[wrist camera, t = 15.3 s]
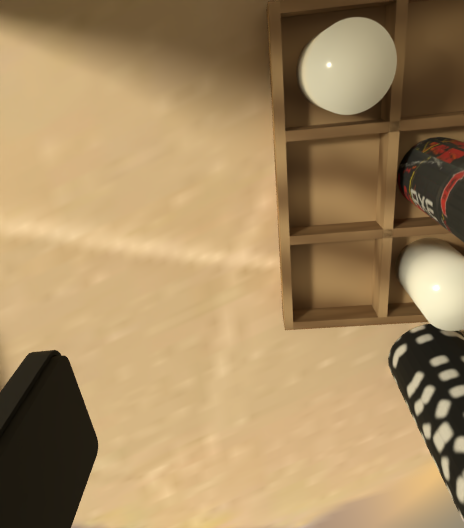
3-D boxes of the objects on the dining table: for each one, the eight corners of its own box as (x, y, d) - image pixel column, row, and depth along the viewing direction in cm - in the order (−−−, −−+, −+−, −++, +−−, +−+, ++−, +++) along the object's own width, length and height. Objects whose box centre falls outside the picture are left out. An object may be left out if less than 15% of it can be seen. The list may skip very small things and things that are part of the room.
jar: (396, 239, 38) (426, 271, 32) (459, 234, 38) (502, 266, 31) (392, 292, 40) (419, 333, 34) (451, 289, 40) (490, 329, 33)
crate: (266, 8, 31) (268, 1, 29) (518, -22, 30) (545, -32, 27) (282, 313, 42) (285, 330, 40) (467, 302, 41) (483, 318, 38)
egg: (294, 34, 31) (306, 22, 25) (369, 25, 31) (399, 11, 25) (296, 111, 34) (308, 118, 27) (366, 104, 33) (393, 110, 27)
